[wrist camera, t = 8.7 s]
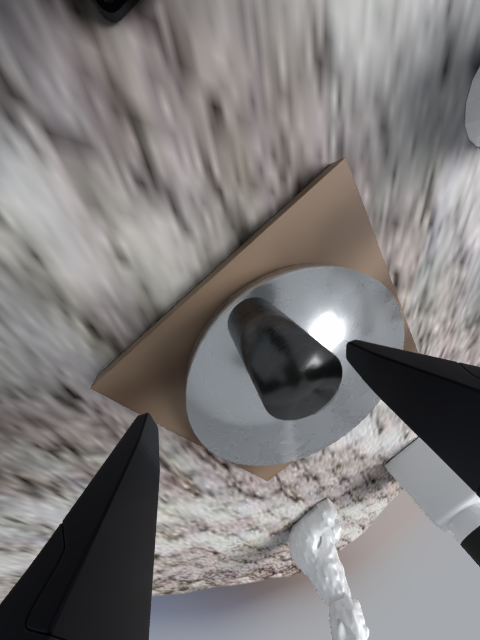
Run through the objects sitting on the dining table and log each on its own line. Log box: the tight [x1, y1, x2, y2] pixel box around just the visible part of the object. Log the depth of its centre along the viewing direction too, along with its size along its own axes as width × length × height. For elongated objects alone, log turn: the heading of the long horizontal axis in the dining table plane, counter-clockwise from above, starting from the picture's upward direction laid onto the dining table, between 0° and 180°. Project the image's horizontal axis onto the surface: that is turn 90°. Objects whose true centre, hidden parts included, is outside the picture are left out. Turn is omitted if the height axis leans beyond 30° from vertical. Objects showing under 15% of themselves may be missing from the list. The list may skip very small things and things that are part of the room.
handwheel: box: [185, 263, 405, 466], centre depth 13 cm, size 17×17×7 cm
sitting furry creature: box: [288, 498, 369, 640], centre depth 27 cm, size 10×9×12 cm
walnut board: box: [91, 158, 418, 481], centre depth 17 cm, size 20×20×1 cm
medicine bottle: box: [385, 437, 480, 566], centre depth 27 cm, size 7×7×12 cm
